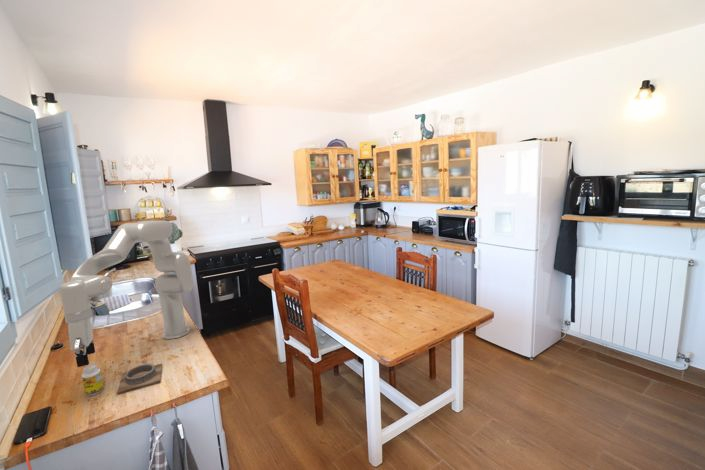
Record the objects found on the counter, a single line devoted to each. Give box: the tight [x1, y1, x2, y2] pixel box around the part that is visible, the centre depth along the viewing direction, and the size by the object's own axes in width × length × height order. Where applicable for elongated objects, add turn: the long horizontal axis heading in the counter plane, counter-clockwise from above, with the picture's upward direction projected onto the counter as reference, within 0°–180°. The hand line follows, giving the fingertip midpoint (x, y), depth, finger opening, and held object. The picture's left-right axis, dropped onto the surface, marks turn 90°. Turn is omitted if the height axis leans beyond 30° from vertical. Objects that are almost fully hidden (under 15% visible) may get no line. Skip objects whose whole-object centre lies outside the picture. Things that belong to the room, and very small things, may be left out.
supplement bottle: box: [81, 363, 104, 397], centre depth 126 cm, size 6×6×10 cm
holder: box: [116, 363, 163, 396], centre depth 133 cm, size 14×14×4 cm
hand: (86, 359), depth 124 cm, fingers open, 9 cm apart
